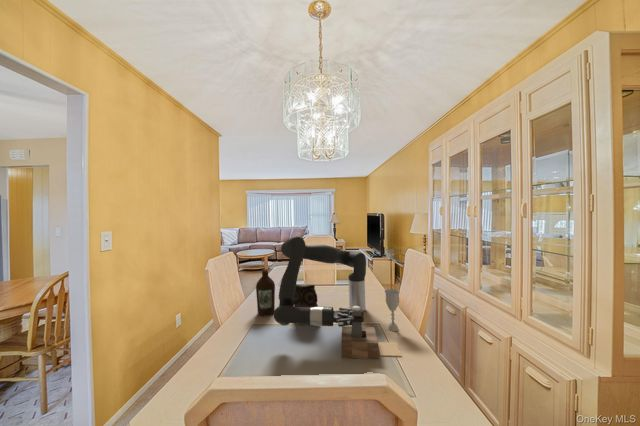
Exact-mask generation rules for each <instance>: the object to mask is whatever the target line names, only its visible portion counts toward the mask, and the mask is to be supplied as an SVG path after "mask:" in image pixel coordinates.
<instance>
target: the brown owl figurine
mask: <svg viewBox="0 0 640 426" xmlns="http://www.w3.org/2000/svg"><path fill="white" fill-rule="evenodd" d="M315 287H316V285H315V284H307V283H296V289H295V296H294V306H295V307H319V304H318V295H317V292H316V289H315Z"/></svg>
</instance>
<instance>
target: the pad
mask: <svg viewBox="0 0 640 426" xmlns="http://www.w3.org/2000/svg"><path fill="white" fill-rule="evenodd" d="M378 353H379V355H380V356H379V357H397V358H398V357H399V358H401V357H402V354H401V351H400V348H399V345H398V343H397V342H390V341H389V342H387V341H386V342H384V341H383V342H382V341H378Z"/></svg>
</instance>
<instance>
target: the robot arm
mask: <svg viewBox="0 0 640 426" xmlns="http://www.w3.org/2000/svg"><path fill="white" fill-rule="evenodd" d="M280 250H281V253H282V255H284V257H287V258H288V259H289V260H288V262H287V266H286V269H285V271H284V273H283V275H282V278H281V281H280V286H279V291H278V300H279V304H278V306H277V307H276V308H275V311H274V314H272V315H273V319H274V321H275V322H277V323H278V324H279V325H281V326H287V325H289V324H297V325H300V326H301V325H302V326H314V327H333V326H334V323H335V324H337V326H338V327H341V328H342V326H345V327H350V326H352V325H353V323H354V322H362V323H365V317H364V312H365V311H366V278H365V277H366V274H367V258H366V255H365V253H363V252H359V251H353V250H352V251H351V250H349V251H348V250H341V249H338V248H336V247H333V246H331V245H326V244H310V245H309V244H308V245H306V241H305V240H304V239H303V238H302V237H301V236H298V235H296V236H295V235H294V236H292V237H291V238H288V239H287V240H285V241H284V242H282V245H281V247H280ZM303 260H308V261H313V262H319V263H324V264H331V265H332V264H341V265H345V266H347V267H350V268H353V272H351V273H349V275H348V299H349V300H348V301H349V303H348V305H349V306H348V307H349V308H343V307H338V310H334V307H333V306H318V307H295V306H294V296H295V289H296V284H297V281H298V276H299V272H300V268H301V265H302V262H303ZM353 306H359V307H360V308H361V312H362V316H352V313H351V308H352V307H353Z"/></svg>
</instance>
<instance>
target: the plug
mask: <svg viewBox="0 0 640 426" xmlns="http://www.w3.org/2000/svg"><path fill="white" fill-rule="evenodd" d="M351 313H352V316H362V312H361V308H360V307H359V306H353V307H352V308H351ZM351 327H352V338H362V327H363V322H354V323H353V325H351Z"/></svg>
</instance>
